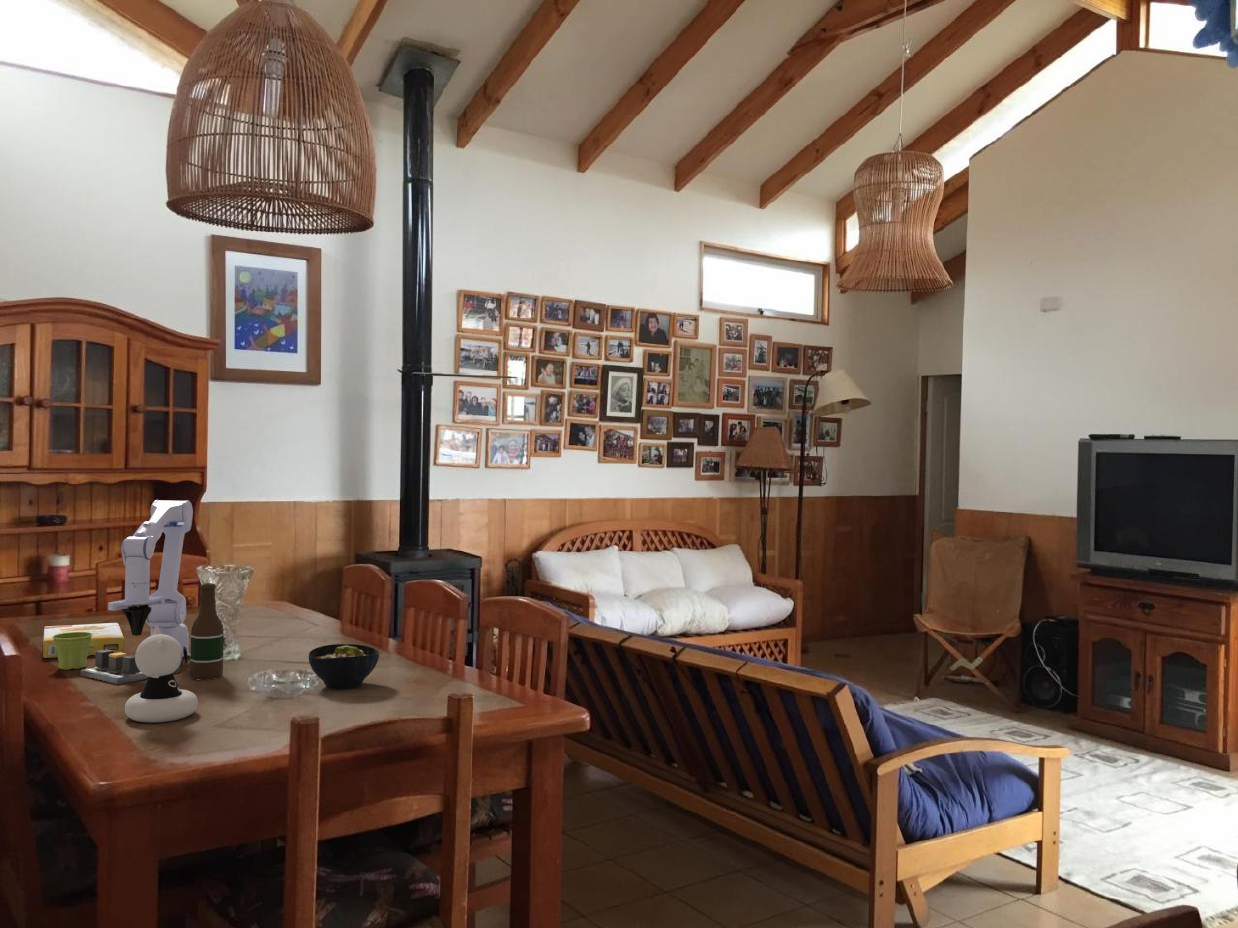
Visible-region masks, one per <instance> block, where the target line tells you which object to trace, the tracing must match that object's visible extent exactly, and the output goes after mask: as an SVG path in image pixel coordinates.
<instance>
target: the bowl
mask: <svg viewBox="0 0 1238 928" xmlns="http://www.w3.org/2000/svg"><path fill="white" fill-rule="evenodd" d="M379 659H380V651H379V650H378V649H376V648H374V647H371V646H369V645H364V644H363V645H362V644H353V643H337V644H335V643H334V644H333V643H332V644H327V645H321V646H318V647H316V648H314V649H312V650H311V651H309V653H308V663H309V665H310V667H311V670H312V672H314V674H315V675H316V676H317V677H318V678H319V679H320V680H322V681H323V684H324V685H325V686H326V687H325V688H327V689H331V690H341V691H342V690H343V691H344V690H352V689H353V690H354V689H356V688H359V687H361V685H362V684H363V682H364V680H365V679H366V678H367V677H368V676H369V675H370V674H371V673H372V672H373V671H374V669H375V668H376V666H377V664H378V661H379Z"/></svg>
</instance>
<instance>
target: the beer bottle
mask: <svg viewBox="0 0 1238 928" xmlns="http://www.w3.org/2000/svg"><path fill="white" fill-rule="evenodd" d="M199 588H200V589H201V591H200V604H199V613H198V615H197V617H196V618H195V620H194V621H193V623H192V626H191V630H190V631H191V632H190V666H189V667H190V679H193V678H194V679H193V680H195V679H196V681H198V680H197V679H202V680H201V681H208V680H207V679H210V680H215V679H214V678H217V679H219V678H221V677H222V676H223V674H224V673H223V672H224V642H225V641H224V637H225V635H224V633H225V632H224V625H223V622H222V620H221V619H220V617H219V616H218V615H217V613H218V612H217V607H216V588H217V585H216V584H215V583H212V582H211V583H209V582H207V583H206V582H205V583H202V584H201V585H200V587H199Z"/></svg>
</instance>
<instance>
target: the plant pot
mask: <svg viewBox="0 0 1238 928" xmlns="http://www.w3.org/2000/svg"><path fill="white" fill-rule="evenodd" d="M91 636H93V633H90V632H69V633H62V634H57V635H54V636H52V638H53V639H54V642H55V644H56V649H57V655H58V657H57V660H58V661H57V663H58V668H59V669H60V670H66V671H69V670H71V669H76V670H79V669H80V670H81V669H83V668H85V667H86V666H87V659H88V656H87V654H88V647H89V642H90V640H91Z"/></svg>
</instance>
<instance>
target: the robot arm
mask: <svg viewBox="0 0 1238 928" xmlns="http://www.w3.org/2000/svg"><path fill="white" fill-rule="evenodd" d="M193 514H194V510H193V505H192V502H191V501H190V500H188V499H187V500H159V499H156V500H154V501H153V502H152V504H151V507H150V518H149V519H148V521H144V522H143V523H141V524H140V526H139V527H138V529H137V530H136V531H135V532H134V533H133V534H132V536H128V537H126V538H125V539H124V540H123V541H122V544H121V555H122V558H123V566H125V576H124V577H125V579H124V580H125V582H124V583H125V584H124V585H125V586H124V599H121V600H116V601H111V602H108V603H107V610H108V611H113V612H114V611H118V610H122V612H123V614H124V616H125V617H126V620H127V622H128V624H129V628H130V632H131V635H132V636H134V637H135V636H136V637H138V636H141V635H142V633H143V629H144V626H145V623H146V624H147V625H148V627H150V636H153V633H154V630H155V626H156V623H157V624H158V627H159V629H160V631H161V634H164V635H168V636H171V637H173V638H174V639H176V640H177V641H178V643H179V644H180V646H181V648H182V654H183V646H184V647H186V648H185V649H187V657H190V656H191V653H190V652H189V650H190V647H189V646H190V634H189V633H190V632H189V629H188V627H187V625H186V624H185V623H184V622H185V620H186V617H187V599H186V597H185V596H184V595H183V594H182V593H180V592H179V591H178V585H179V584H178V583H179V576H180V568H181V560H182V553H183V545H184V540H185V534H186V533H188V532H190V531H191V529H192V523H193ZM163 533H164V535H165V538H164V544H163V549H162V550H163V551H162V559H161V567H160V571H159V572H160V573H159V581H158V588H157V590H156V591H154V592H152V593H151V594H150V587H151V586H150V585H151V584H150V582H151V581H150V580H151V579H150V577H151V570H150V569H151V558H152V557H153V556H154V553H155V548H156V544H157V542H158V540H160V538H161V536H162V534H163ZM182 658H185V656H184V654H183V655H182Z"/></svg>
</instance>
